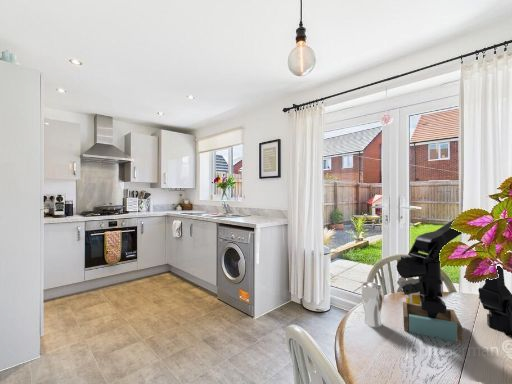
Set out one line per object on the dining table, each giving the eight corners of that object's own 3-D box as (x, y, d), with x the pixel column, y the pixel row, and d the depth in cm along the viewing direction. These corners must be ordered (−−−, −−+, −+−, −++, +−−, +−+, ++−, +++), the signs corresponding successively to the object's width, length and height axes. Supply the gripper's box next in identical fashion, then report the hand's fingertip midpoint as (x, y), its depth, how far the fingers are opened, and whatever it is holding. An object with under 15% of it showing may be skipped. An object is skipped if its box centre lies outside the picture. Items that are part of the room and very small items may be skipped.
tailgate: (455, 339, 82) (456, 322, 80) (456, 342, 81) (457, 324, 79) (409, 330, 88) (408, 314, 86) (409, 332, 88) (408, 316, 86)
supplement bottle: (404, 307, 108) (403, 285, 109) (409, 304, 112) (408, 282, 112) (418, 311, 104) (417, 288, 104) (422, 308, 108) (422, 285, 108)
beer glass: (385, 331, 90) (384, 289, 90) (364, 330, 91) (363, 288, 91) (380, 322, 96) (379, 282, 97) (361, 320, 98) (359, 281, 98)
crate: (454, 326, 92) (453, 309, 92) (462, 345, 81) (462, 326, 81) (403, 317, 100) (402, 301, 100) (404, 333, 88) (403, 316, 88)
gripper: (401, 263, 96) (403, 304, 96) (402, 280, 79) (403, 329, 80) (437, 267, 90) (439, 310, 91) (446, 286, 74) (447, 339, 74)
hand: (431, 321), depth 84 cm, fingers closed, pressing on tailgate
